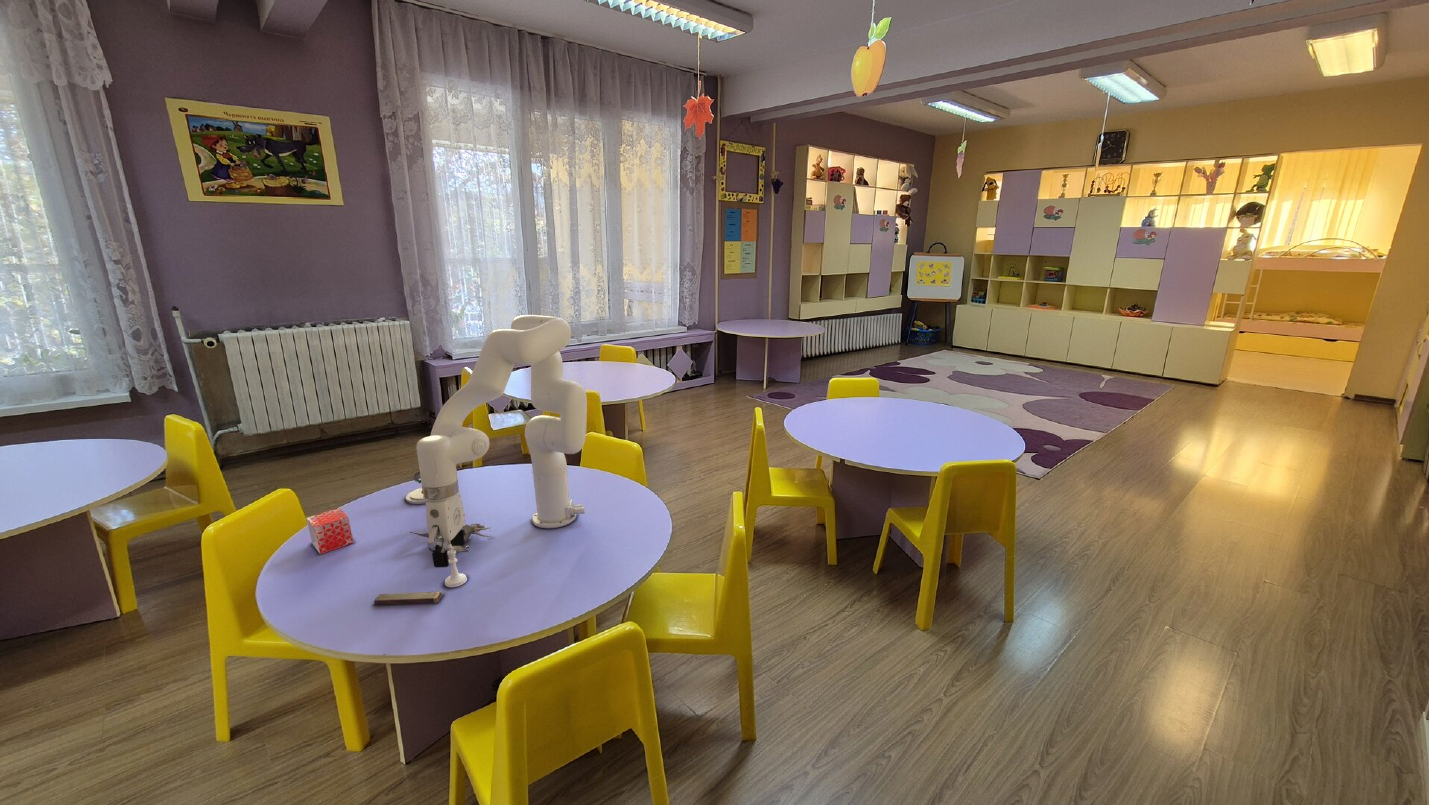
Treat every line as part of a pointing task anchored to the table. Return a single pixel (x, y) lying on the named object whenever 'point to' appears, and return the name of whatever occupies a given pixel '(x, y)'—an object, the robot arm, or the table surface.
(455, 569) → the chess piece
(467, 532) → the figurine
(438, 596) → the walnut stick
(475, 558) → the table surface
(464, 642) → the table surface
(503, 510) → the table surface
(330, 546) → the red patterned box
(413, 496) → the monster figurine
